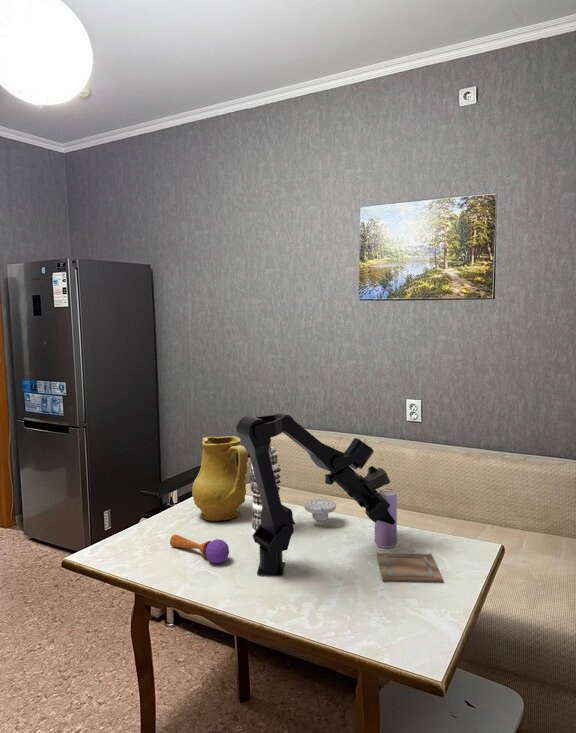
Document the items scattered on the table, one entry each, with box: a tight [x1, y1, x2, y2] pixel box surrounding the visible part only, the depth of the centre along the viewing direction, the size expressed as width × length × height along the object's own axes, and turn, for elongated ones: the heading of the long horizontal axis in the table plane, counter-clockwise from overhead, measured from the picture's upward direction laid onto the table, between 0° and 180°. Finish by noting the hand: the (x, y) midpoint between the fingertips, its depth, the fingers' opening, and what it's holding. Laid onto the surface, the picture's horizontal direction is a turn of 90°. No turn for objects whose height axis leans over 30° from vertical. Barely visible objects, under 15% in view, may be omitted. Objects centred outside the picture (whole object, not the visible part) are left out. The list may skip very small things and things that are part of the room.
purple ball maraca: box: [169, 534, 230, 565], centre depth 143 cm, size 6×6×20 cm
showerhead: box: [304, 497, 337, 526], centre depth 162 cm, size 9×7×10 cm
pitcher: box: [191, 435, 249, 522], centre depth 169 cm, size 17×19×25 cm
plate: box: [376, 552, 444, 584], centre depth 133 cm, size 14×14×1 cm
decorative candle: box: [249, 445, 281, 534], centre depth 157 cm, size 9×9×25 cm
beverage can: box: [374, 487, 398, 549], centre depth 147 cm, size 6×6×15 cm
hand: (390, 519), depth 147 cm, fingers closed on beverage can, 6 cm apart
